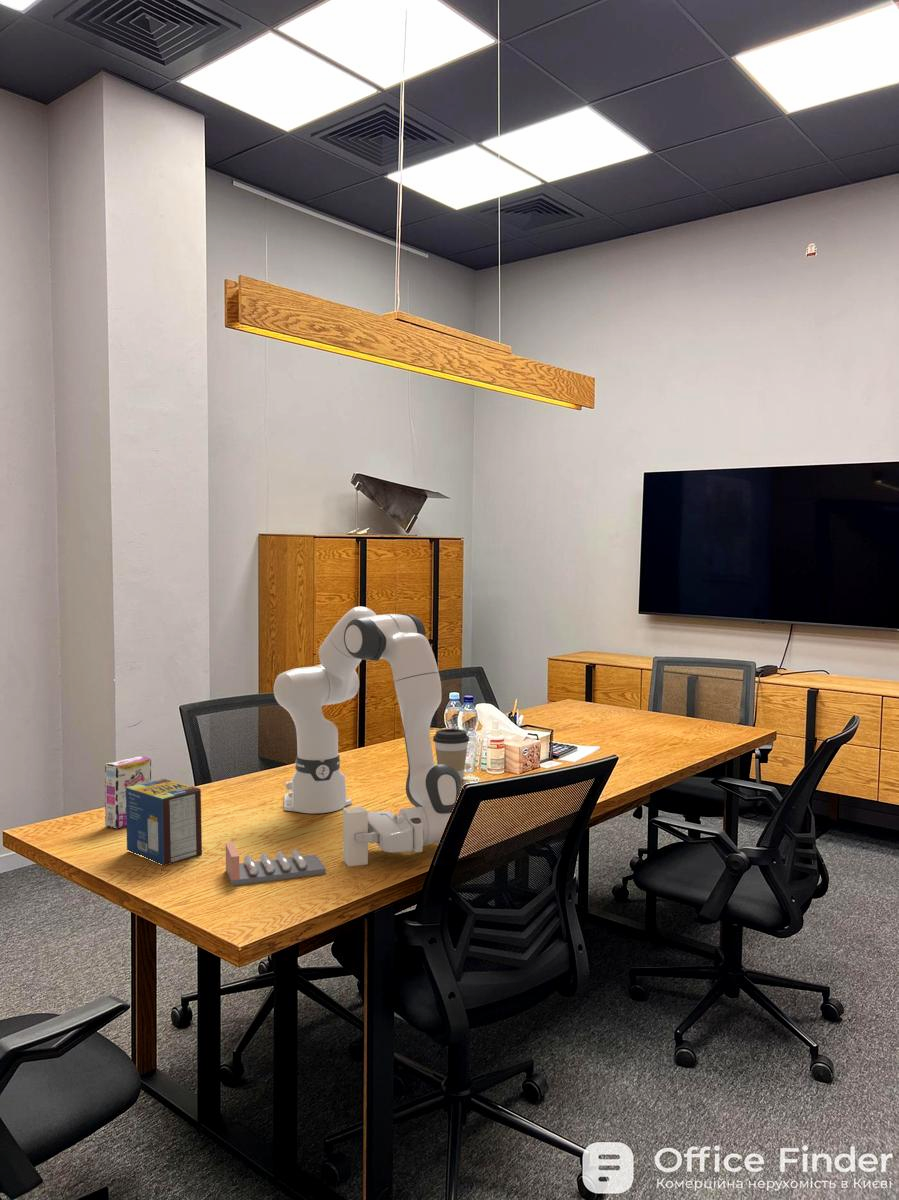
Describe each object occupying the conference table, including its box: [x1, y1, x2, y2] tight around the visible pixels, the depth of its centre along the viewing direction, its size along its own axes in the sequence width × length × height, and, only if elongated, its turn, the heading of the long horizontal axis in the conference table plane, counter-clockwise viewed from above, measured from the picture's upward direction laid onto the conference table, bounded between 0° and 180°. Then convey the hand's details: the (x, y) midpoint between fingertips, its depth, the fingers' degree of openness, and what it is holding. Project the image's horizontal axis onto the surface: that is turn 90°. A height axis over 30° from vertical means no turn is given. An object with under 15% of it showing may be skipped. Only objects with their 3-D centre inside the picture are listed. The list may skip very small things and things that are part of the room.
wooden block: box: [342, 805, 369, 867], centre depth 203 cm, size 4×4×12 cm
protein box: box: [126, 778, 203, 866], centre depth 209 cm, size 10×15×16 cm
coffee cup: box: [432, 728, 470, 781], centre depth 277 cm, size 11×11×15 cm
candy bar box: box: [104, 756, 152, 830], centre depth 232 cm, size 11×5×16 cm, turn 149°
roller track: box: [225, 841, 327, 887], centre depth 196 cm, size 10×20×6 cm, turn 111°
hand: (351, 834), depth 202 cm, fingers closed on wooden block, 4 cm apart
